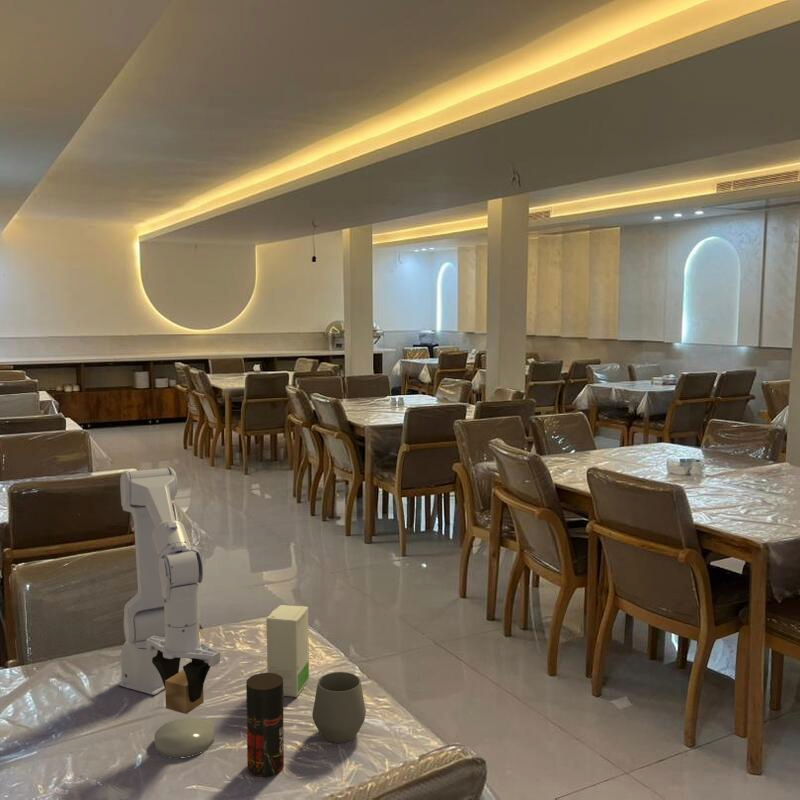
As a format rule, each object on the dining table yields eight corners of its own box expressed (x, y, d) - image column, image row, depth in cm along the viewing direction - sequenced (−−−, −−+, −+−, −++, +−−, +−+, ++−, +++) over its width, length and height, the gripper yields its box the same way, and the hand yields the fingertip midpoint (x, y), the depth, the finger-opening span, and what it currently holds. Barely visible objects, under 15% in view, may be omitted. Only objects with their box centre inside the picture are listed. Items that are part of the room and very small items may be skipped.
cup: (324, 754, 134) (324, 699, 132) (304, 728, 142) (304, 676, 141) (374, 741, 138) (374, 687, 137) (352, 716, 146) (352, 665, 145)
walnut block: (165, 708, 135) (165, 680, 135) (183, 696, 139) (182, 669, 139) (186, 714, 134) (185, 686, 133) (203, 702, 138) (203, 675, 137)
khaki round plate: (142, 751, 134) (142, 740, 134) (179, 723, 144) (179, 713, 143) (189, 765, 131) (189, 753, 130) (225, 736, 140) (225, 725, 140)
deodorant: (249, 757, 133) (248, 673, 131) (284, 756, 133) (284, 672, 131) (245, 778, 127) (244, 690, 125) (282, 777, 127) (282, 689, 125)
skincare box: (296, 698, 153) (296, 621, 151) (264, 694, 154) (264, 618, 152) (310, 678, 161) (310, 605, 159) (279, 675, 162) (279, 602, 160)
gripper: (132, 621, 134) (134, 697, 136) (200, 637, 128) (202, 716, 129) (161, 607, 140) (163, 679, 142) (227, 622, 134) (228, 697, 136)
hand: (183, 696), depth 136 cm, fingers closed on walnut block, 4 cm apart
